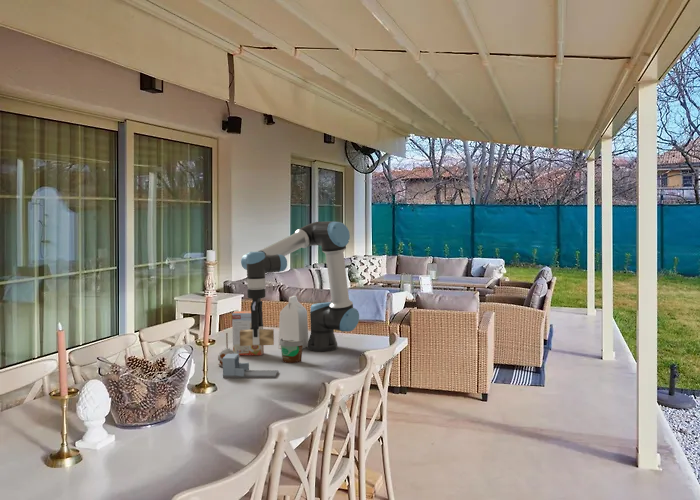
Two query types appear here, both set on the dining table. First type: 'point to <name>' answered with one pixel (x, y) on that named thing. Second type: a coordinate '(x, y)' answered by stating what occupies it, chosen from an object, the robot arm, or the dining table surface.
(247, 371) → the board
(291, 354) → the food container
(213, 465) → the dining table surface
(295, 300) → the milk
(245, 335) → the oak slat
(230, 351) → the decorative ornament
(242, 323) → the cracker box
